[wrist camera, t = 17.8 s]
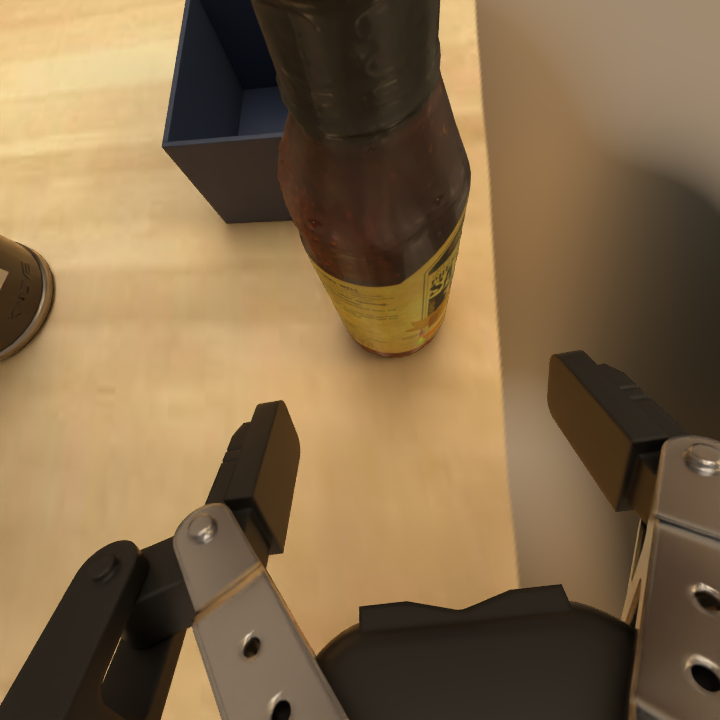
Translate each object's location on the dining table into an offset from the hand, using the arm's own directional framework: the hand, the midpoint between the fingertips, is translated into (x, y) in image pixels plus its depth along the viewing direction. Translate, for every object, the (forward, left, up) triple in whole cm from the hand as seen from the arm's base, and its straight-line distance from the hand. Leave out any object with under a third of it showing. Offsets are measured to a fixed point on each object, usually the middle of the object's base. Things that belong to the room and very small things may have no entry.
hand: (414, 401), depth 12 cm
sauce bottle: (-1, +7, -12) cm, 14 cm away
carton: (-8, +20, -11) cm, 24 cm away
